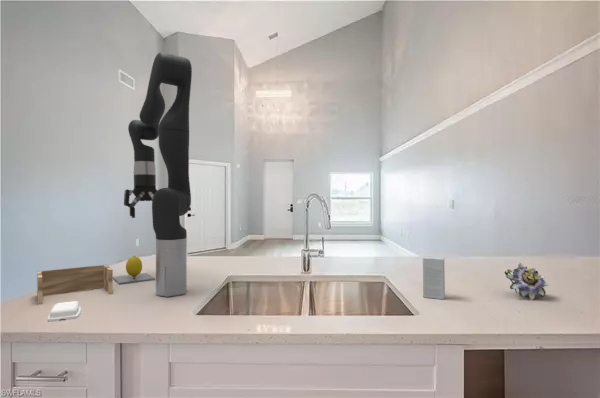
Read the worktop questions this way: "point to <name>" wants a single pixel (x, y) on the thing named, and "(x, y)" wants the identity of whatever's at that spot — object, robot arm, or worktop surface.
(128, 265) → the lemon
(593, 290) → the worktop surface
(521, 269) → the passion flower
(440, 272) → the skincare box
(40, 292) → the open u-shaped oak frame
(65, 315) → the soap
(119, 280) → the slate coaster
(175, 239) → the robot arm
